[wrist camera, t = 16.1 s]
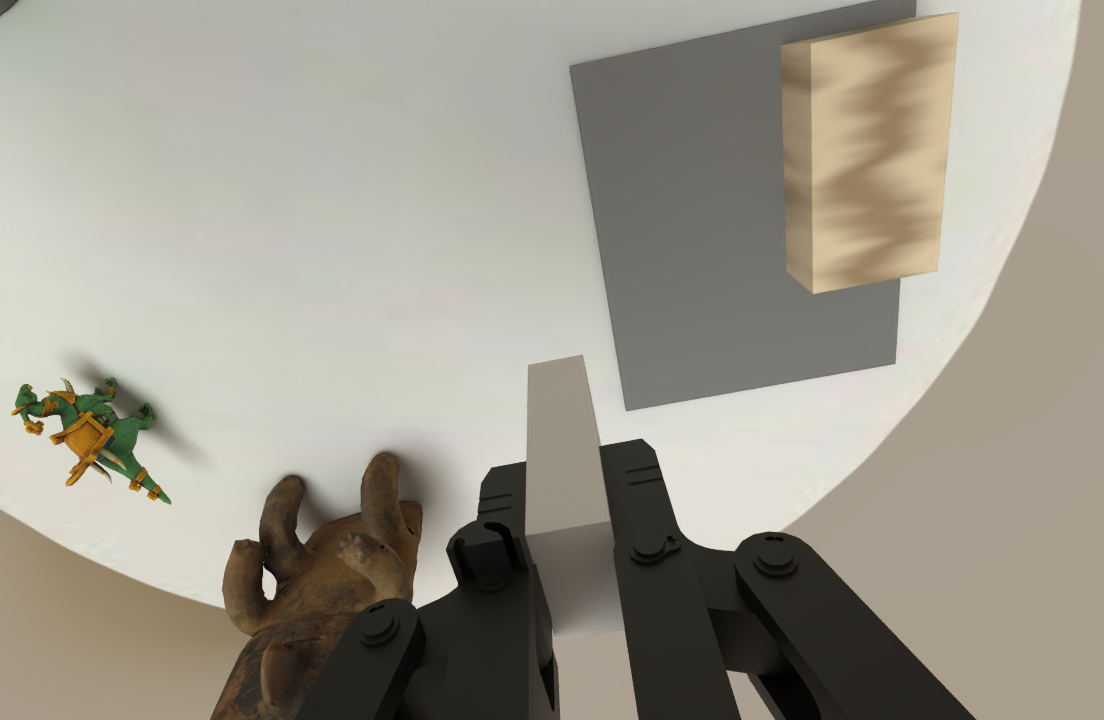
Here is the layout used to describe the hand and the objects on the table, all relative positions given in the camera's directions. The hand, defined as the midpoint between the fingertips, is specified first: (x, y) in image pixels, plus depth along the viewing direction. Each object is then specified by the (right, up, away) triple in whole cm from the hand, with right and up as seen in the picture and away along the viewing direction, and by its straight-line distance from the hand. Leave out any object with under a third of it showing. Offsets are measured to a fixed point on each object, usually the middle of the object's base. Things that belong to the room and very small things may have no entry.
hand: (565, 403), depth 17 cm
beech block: (+19, +7, +23) cm, 31 cm away
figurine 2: (-17, -10, +34) cm, 39 cm away
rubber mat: (+13, +10, +24) cm, 29 cm away
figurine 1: (-31, -3, +30) cm, 43 cm away
